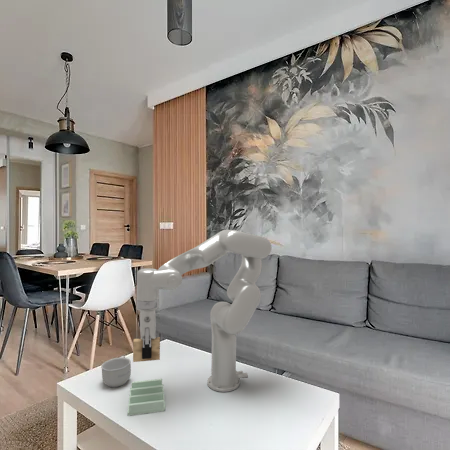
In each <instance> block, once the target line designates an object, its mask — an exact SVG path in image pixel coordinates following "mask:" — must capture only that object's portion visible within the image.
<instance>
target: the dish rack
mask: <svg viewBox="0 0 450 450" xmlns="http://www.w3.org/2000/svg"><path fill="white" fill-rule="evenodd" d="M128 395H129V397H128V404H127V406H128V407H127V416H128V417H129V415H130V416H136V415H143V414H152V413H153V414H154V413H160V412H166V400H165V389H164V384H163V379H162V378H155V379H148V380H138V381H131V387H130V388H129V394H128Z"/></svg>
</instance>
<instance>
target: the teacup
mask: <svg viewBox="0 0 450 450" xmlns="http://www.w3.org/2000/svg"><path fill="white" fill-rule="evenodd" d="M131 361H132V360H131V359H130V358H128V357H126V356H125V355H121V356H120V357H115V358H111V359H108V360H106V361H104V362H103V363H101V367H100V368H101V378H102V382H103V383H104V384H105V385H106V386H108V387H110V388H119V387H122V386H123V385H125V384H126V383H127V382H128V380H129V379H130V377H131V371H132V369H131V368H132V367H131Z"/></svg>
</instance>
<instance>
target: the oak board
mask: <svg viewBox="0 0 450 450" xmlns="http://www.w3.org/2000/svg"><path fill="white" fill-rule="evenodd" d="M144 342H145V341H144ZM149 342H150V340H149ZM149 345H150V344H149ZM144 346H145V345H144ZM151 346H152V357H151V358H150V359H142V347H143V340H142V339H141V338H133V344H132V363H137V362H138V363H139V362H149V361H159V360H160V361H161V336H159V337H156V336H155V339H152V338H151Z"/></svg>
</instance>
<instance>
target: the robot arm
mask: <svg viewBox="0 0 450 450" xmlns="http://www.w3.org/2000/svg"><path fill="white" fill-rule="evenodd" d="M272 247H273V246H272V243H271V241H270V240H269V239H268V238H267V237H265V236H262V235H257V234H253V233H248V232H243V231H240V230H237V229H223V230H220V231H219V232H216V233H215V234H214V235H212V236H211V237H210V238H208V239H206V240H204V241H203V242H202V243H199V244H198V245H196V246H195V247H193V248H191V249H189V250H187V251H185V252H183V253H181V254H179V255H177V256H175V257H173V258H171V259H169V260H168V261H167V262H165V263H164V264H162V265H161V266H160V267H159V268H158V269H156V268H152V267H151V268H150V267H149V268H146V267H145V268H141V269H138V271H137V272H136V310H137V311H138V312H139V330H140V332H139V333H140V339H142V340H143V347H142V359H150V358H151V357H152V346H151V338H152V339H155V338H156V331H157V330H156V328H157V327H156V323H157V320H156V319H157V318H156V317H157V316H156V310H158V309H159V303H160V302H159V296H160V295H159V293H160V292H159V290H164V291H165V290H166V291H173V290H176V289H178V288H179V287H181V285H182V282H183V275H184V274H186V273H187V272H190V271H193V270H197V269H203V268H206V267H209V266H210V265H212V264H214V262H216V261H217V260H219V259H221V258H222V257H224V256H225V255H226V254H228V253H233V254H236V255H241V263H240V266H239V269H238V270H237V272H236V274H235V275H234V277H233V278H232V280H231V282H230V283H229V285H228V287H227V290H226V295H227V297H228V299H229V300H230V301H232V303H230V302H227V301H218V302H216V303H215V304H214V305H213V306H212V307H211V309H210V312H209V313H210V318H209V319H210V320H209V321H210V327H211V369H210V370H211V371H210V372H211V373H210V374H211V375H210V376H209V377H208V378H207V386H208V387H209V388H210V390H212V391H216V392H220V393H222V392H223V393H225V392H228V393H229V392H232V391H234V390H237V389H238V388H239V387H240V383H241V382H240V381H241V379H248V378H249V377H248V376H249V375H248V374H249V373H248V372H243V370H239V371H237V368H236V367H237V335H239V334H241V333H242V332H243V331H244V330H245V329H246V327H247V325H248V324H249V322H250V321H251V319H252V317H253V315H254V313H255V311H256V310H257V308H258V306H259V305H260V302H261V297H262V296H261V290H260V288H259V287H258V285H256V283H257V281H258V279H259V278H260V275H261V273H262V266H263V263H262V259H266V258H267V257H268V256H270V255H271V252H272ZM149 340H150V342H149ZM144 341H145V342H144ZM149 344H150V345H149ZM144 345H145V346H144Z"/></svg>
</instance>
